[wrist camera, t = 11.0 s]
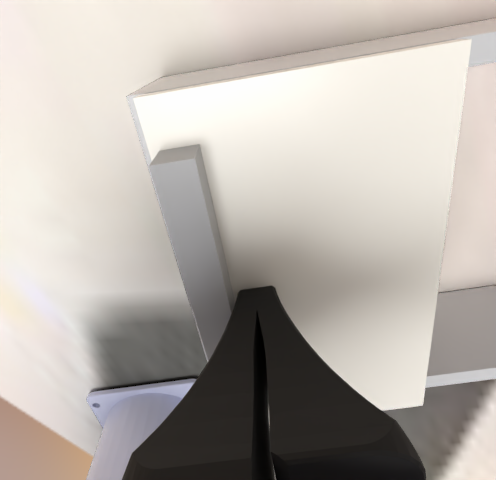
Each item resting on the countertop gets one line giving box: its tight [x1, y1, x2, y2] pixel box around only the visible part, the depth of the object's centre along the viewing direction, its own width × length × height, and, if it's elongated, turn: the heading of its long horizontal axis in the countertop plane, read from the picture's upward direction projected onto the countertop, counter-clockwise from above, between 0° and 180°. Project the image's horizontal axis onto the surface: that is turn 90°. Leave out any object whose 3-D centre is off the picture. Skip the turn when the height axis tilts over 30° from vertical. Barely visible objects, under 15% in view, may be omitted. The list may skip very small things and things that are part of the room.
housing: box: [126, 18, 496, 388], centre depth 16 cm, size 15×18×6 cm
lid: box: [133, 39, 472, 425], centre depth 13 cm, size 15×9×2 cm, turn 9°
